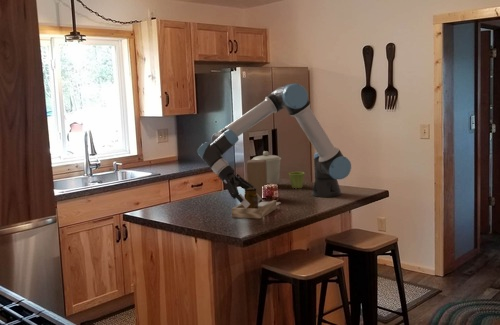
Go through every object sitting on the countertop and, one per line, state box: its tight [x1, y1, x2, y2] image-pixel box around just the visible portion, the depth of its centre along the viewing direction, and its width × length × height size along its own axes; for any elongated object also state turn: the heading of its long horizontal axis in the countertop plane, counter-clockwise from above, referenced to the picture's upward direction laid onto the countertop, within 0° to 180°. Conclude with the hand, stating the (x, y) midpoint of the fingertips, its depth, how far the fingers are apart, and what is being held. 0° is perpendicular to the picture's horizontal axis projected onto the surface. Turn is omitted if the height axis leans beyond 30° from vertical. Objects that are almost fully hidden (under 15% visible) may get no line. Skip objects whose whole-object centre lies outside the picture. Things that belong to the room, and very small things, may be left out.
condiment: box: [243, 188, 259, 209], centre depth 238 cm, size 7×8×12 cm
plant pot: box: [288, 171, 306, 189], centre depth 300 cm, size 9×9×9 cm
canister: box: [250, 150, 282, 185], centre depth 311 cm, size 18×18×21 cm
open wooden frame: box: [231, 199, 277, 219], centre depth 242 cm, size 14×20×4 cm
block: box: [245, 159, 267, 198], centre depth 276 cm, size 10×10×20 cm
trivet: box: [258, 201, 282, 208], centre depth 257 cm, size 10×10×1 cm
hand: (254, 203), depth 237 cm, fingers open, 13 cm apart
